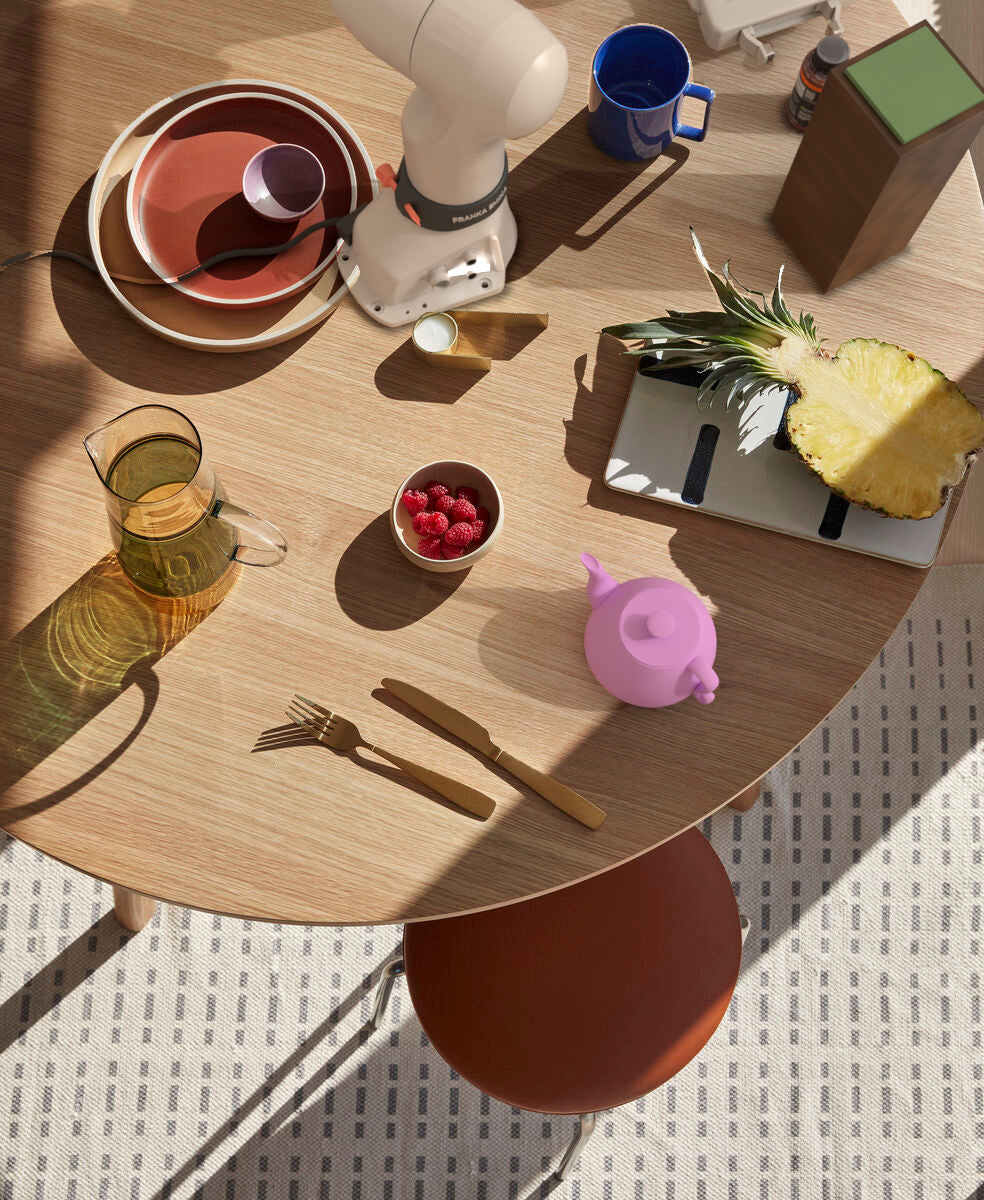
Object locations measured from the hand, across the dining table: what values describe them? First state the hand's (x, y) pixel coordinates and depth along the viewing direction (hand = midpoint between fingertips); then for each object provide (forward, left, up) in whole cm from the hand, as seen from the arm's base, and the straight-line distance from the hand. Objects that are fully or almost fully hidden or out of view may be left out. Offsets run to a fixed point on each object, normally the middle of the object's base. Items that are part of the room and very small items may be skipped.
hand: (803, 49), depth 136 cm
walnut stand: (-8, -21, -6) cm, 23 cm away
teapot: (-57, -52, -6) cm, 77 cm away
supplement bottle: (-1, -5, -6) cm, 8 cm away
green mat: (-8, -21, +20) cm, 30 cm away
